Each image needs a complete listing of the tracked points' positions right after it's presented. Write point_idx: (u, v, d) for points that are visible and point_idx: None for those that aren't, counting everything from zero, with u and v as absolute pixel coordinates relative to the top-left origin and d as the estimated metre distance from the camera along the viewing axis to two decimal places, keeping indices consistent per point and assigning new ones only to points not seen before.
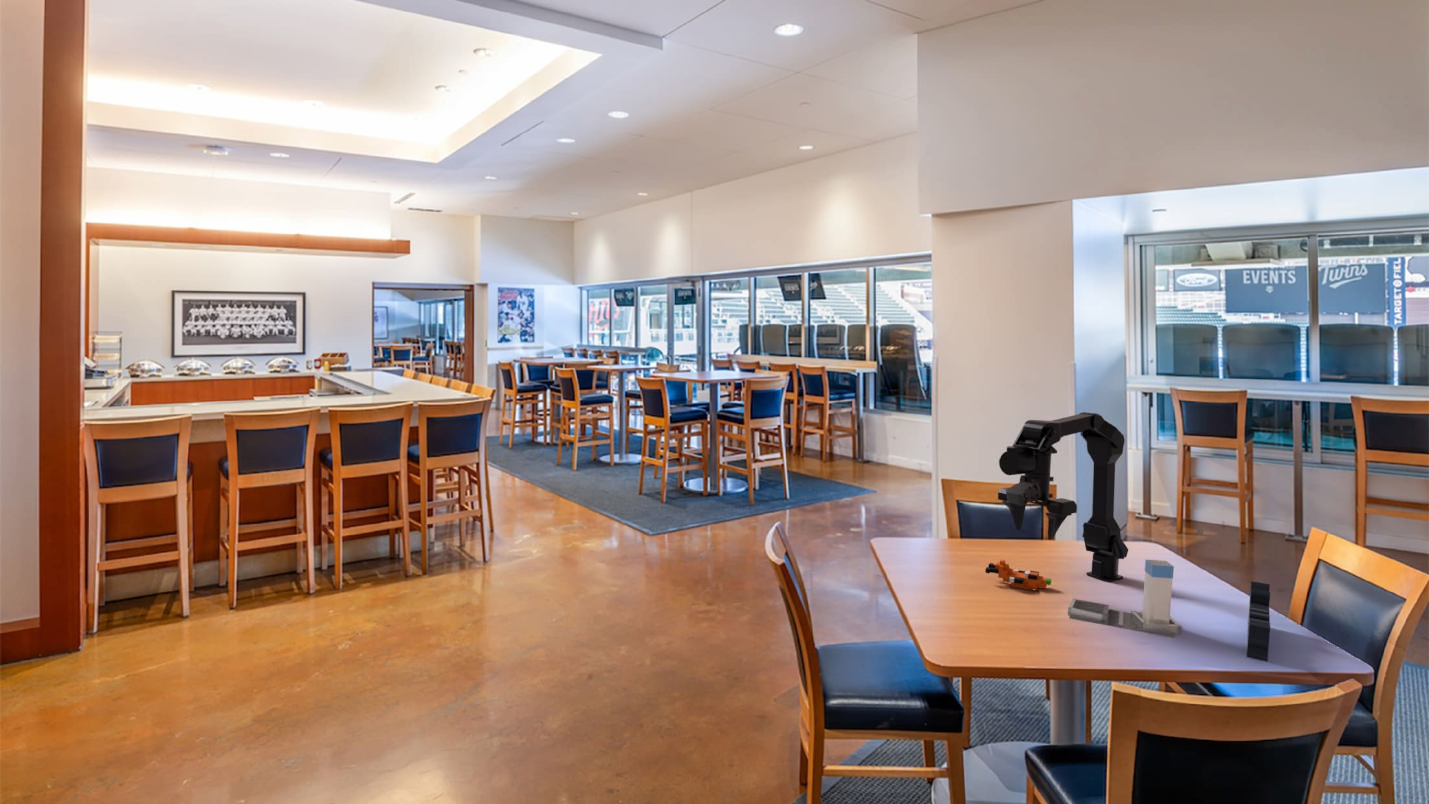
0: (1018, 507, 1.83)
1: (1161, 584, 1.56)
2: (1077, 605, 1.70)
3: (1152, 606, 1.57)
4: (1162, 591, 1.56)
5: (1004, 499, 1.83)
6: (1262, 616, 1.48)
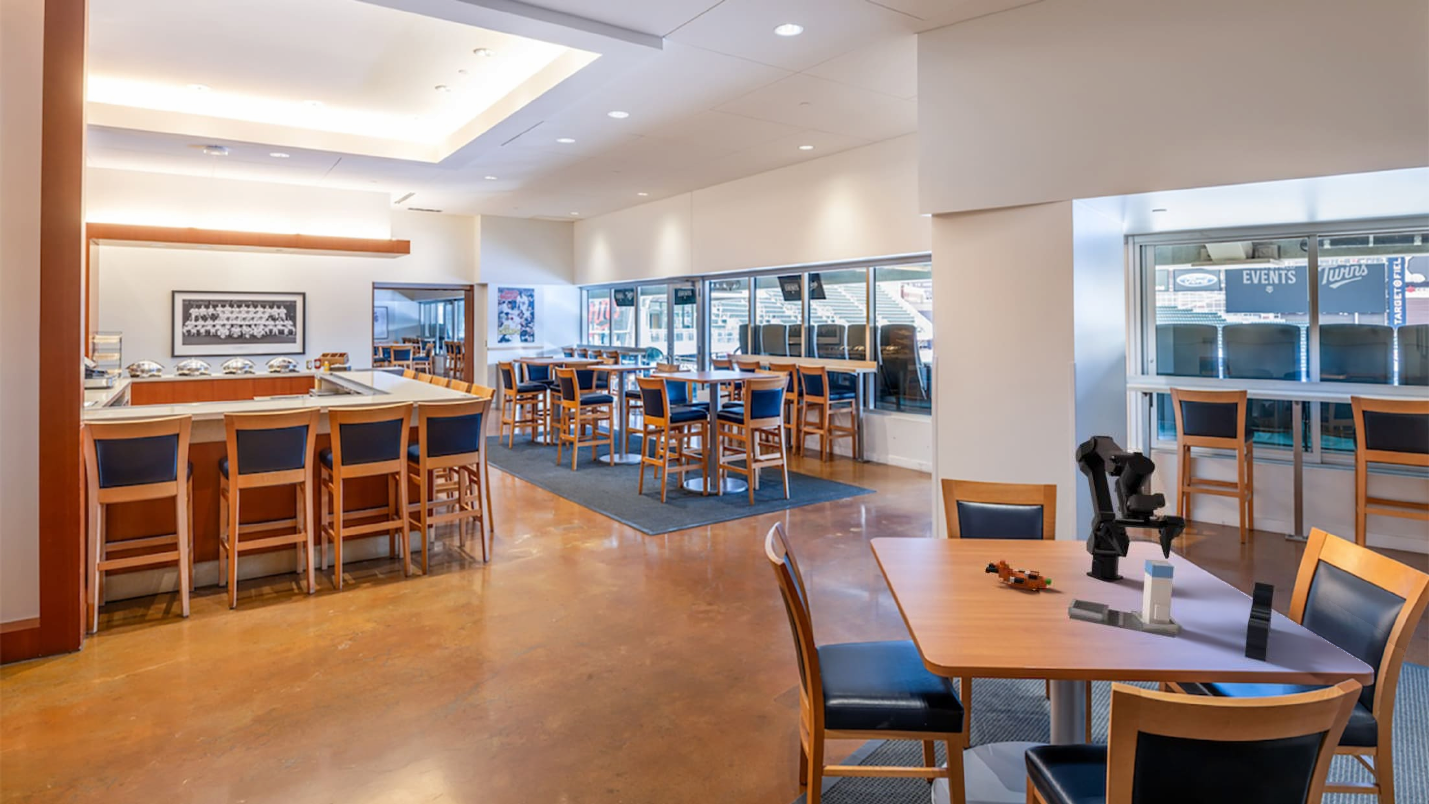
0: None
1: (1161, 584, 1.56)
2: (1077, 605, 1.70)
3: (1152, 606, 1.57)
4: (1162, 591, 1.56)
5: (1110, 518, 1.70)
6: (1262, 616, 1.48)
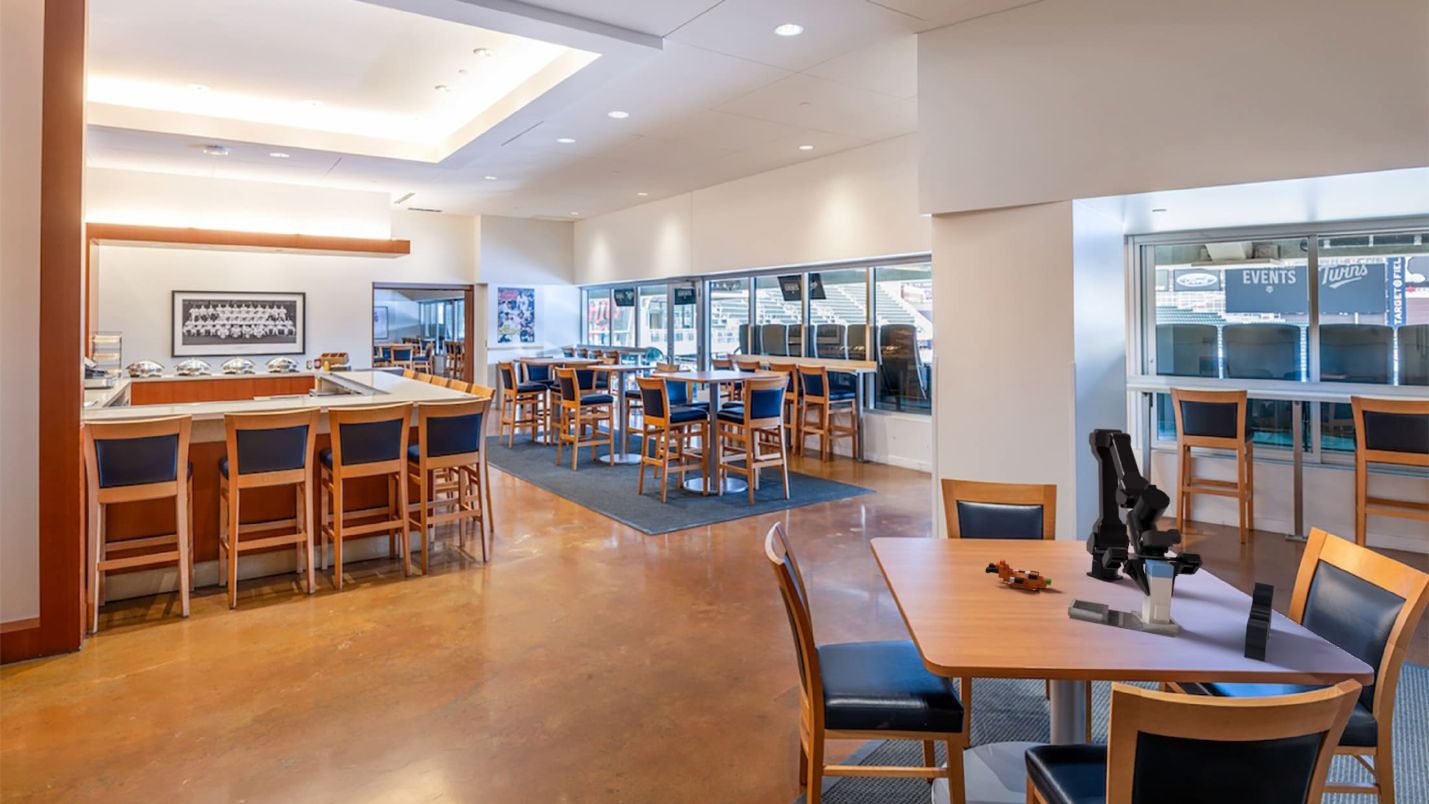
0: None
1: (1161, 584, 1.56)
2: (1077, 605, 1.70)
3: (1152, 606, 1.57)
4: (1162, 591, 1.56)
5: (1122, 554, 1.61)
6: (1262, 617, 1.48)
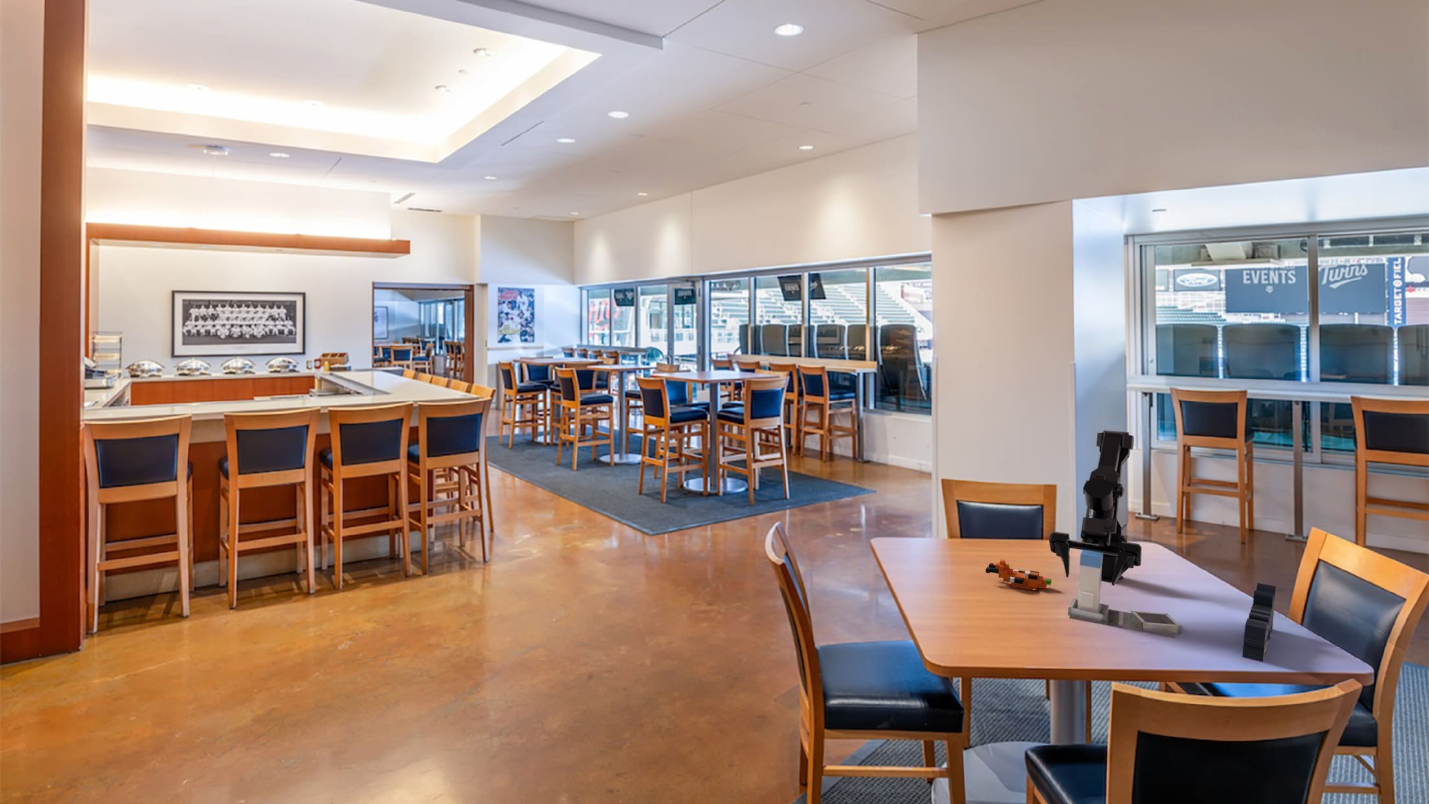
0: None
1: (1089, 573, 1.63)
2: (1077, 605, 1.70)
3: (1080, 593, 1.64)
4: (1090, 580, 1.63)
5: (1061, 539, 1.70)
6: (1261, 617, 1.48)
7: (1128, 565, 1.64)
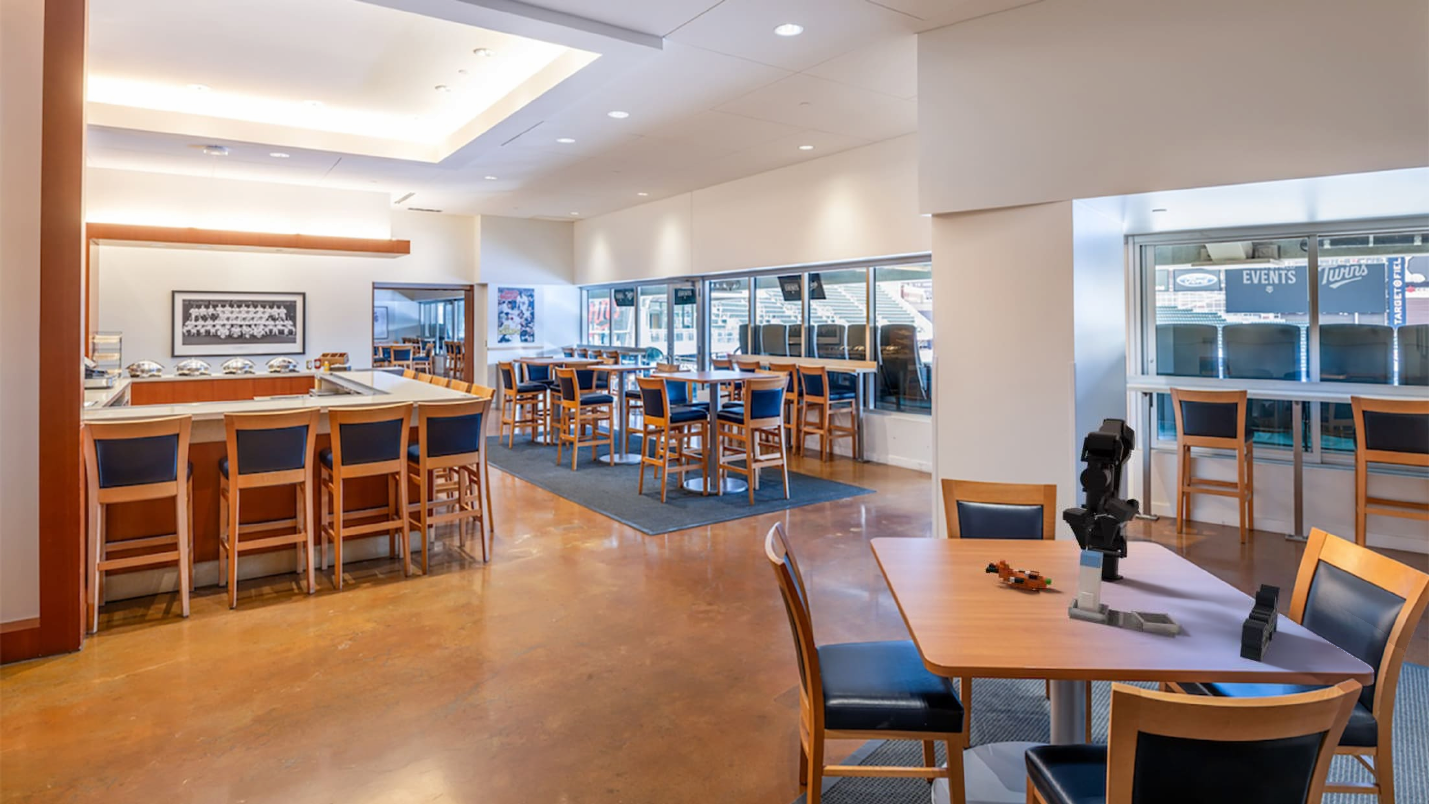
0: None
1: (1089, 573, 1.63)
2: (1077, 605, 1.70)
3: (1080, 593, 1.64)
4: (1090, 580, 1.63)
5: (1091, 522, 1.71)
6: (1261, 617, 1.48)
7: None
